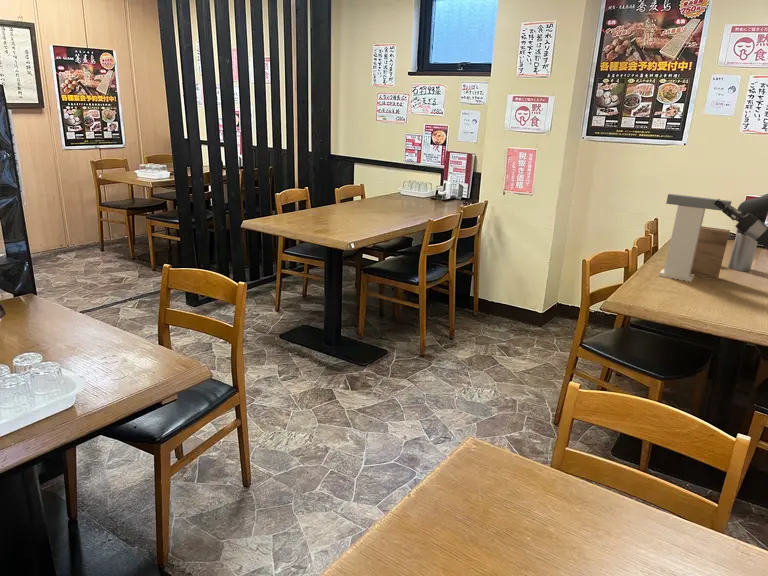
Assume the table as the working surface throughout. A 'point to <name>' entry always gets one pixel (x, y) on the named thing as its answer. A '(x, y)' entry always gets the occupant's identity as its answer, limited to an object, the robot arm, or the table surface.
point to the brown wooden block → (710, 252)
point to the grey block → (695, 201)
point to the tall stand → (683, 243)
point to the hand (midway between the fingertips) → (716, 201)
